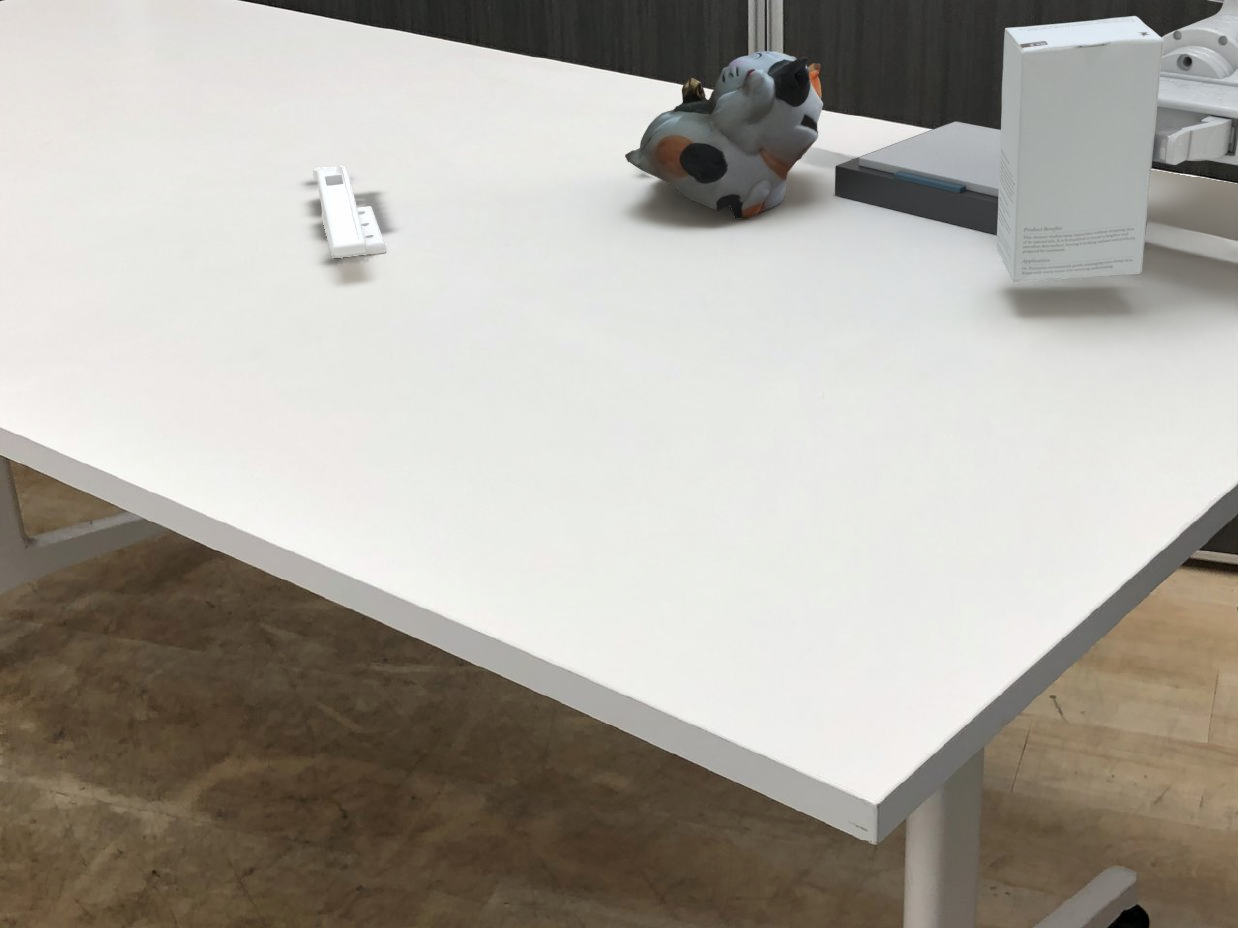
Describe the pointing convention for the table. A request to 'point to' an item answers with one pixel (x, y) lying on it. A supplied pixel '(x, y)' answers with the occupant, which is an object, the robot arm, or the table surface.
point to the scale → (932, 176)
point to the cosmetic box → (1077, 147)
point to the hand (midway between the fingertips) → (1096, 138)
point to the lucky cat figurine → (737, 134)
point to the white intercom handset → (346, 216)
